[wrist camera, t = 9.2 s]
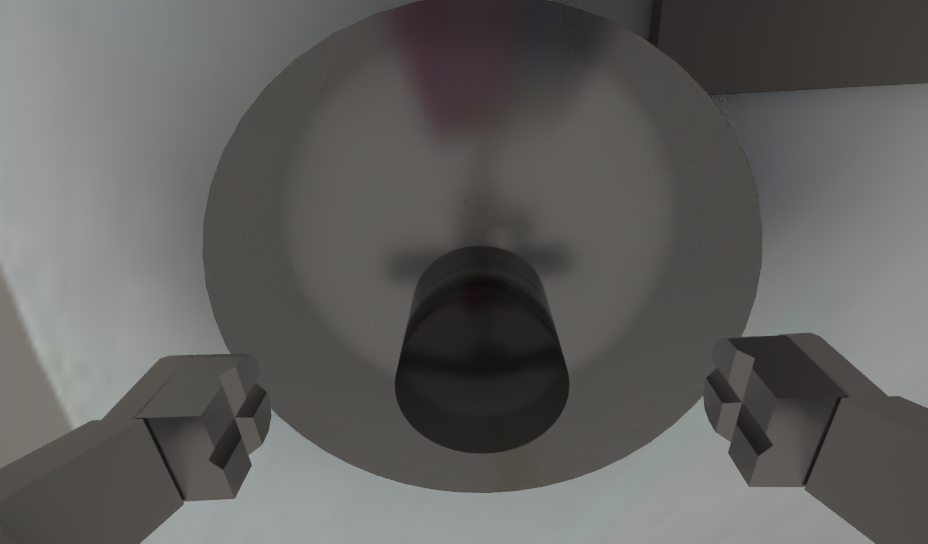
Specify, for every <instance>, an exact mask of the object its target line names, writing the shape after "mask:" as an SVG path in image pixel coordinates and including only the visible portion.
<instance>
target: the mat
mask: <svg viewBox="0 0 928 544" xmlns="http://www.w3.org/2000/svg"><path fill="white" fill-rule="evenodd" d="M650 43H651V44H652V45H653V46H655V47H656V48H658V49H659V50H660V51H662V52H663V53H664V54H666V55H667V56H669V57H670V58H671V59H673V60H674V61H675V62H677V63H678V64H679V65H680V66H681V67H682V68H683V69H684V70H685V71H686V72H687V73H688V74H689V75H690V76H691V77H692V78H693V79H694V80H695V81H696V82H697V83H698V84H699V85H700V86H701V87H702V88H703V89H704V90H705V91H706V92H707V93H708V95H715V94H734V93H752V92H770V91H788V90H807V89H825V88H843V87H861V86H880V85H898V84H916V83H928V0H655V2H654V11H653V21H652V30H651V39H650Z"/></svg>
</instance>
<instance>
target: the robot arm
mask: <svg viewBox="0 0 928 544" xmlns="http://www.w3.org/2000/svg"><path fill="white" fill-rule="evenodd" d="M711 359H712V360H713V362H714V363H715V365H716V366H717V368H716V369H715V370H714V371H713V372H712V373H711V374H710V375H709V376H707V377H706V380H705V386H704V391H703V397H704V406H705V411H706V413H707V416H708V419H709V421H710V423H711V425H712V427H713V428H714V430H715V432H716V433H718V434H720V435H721V436H723V437H724V438H726V439H727V440H729V441H730V442H731V444H730V448H729V452H728V453H729V455H730V457H731V458H732V460H733V462H734V463H735V465H736V466H737V468H738V470H739V471H740V473H741V475H742V476H743V478H744V479H745V481H746V483H747V484H748V486H749V487H805V490H806V491H807V492H808V493H810V494H811V495H812V496H814V497H815V498H816V499H818V500H819V501H820V502H822V503H823V504H824V505H826V506H827V507H828V508H830V509H831V510H832V511H833V512H835V513H836V514H837V515H839V516H840V517H841V518H843V519H844V520H845V521H847V522H848V523H849V524H851V525H852V526H853V527H855V528H856V529H857V530H858V531H860V532H861V533H862V534H864V535H865V536H866V537H868V538H869V539H870V540H872V541H873V542H874V543H876V544H928V408H925V407H923V406H921V405H918V404H916V403H914V402H911V401H909V400H907V399H904V398H902V397H900V396H889V397H888V396H887V395H886V394H885V393H884V392H883V391H882V390H880V389H879V388H878V387H877V386H876V385H875V384H874V383H872V382H871V381H870V380H869V379H868V378H867V377H866V376H865V375H863V374H862V373H861V372H860V371H859V370H858V369H857V368H855V367H854V366H853V365H852V364H851V363H850V362H849V361H847V360H846V359H845V358H844V357H843V356H842V355H841V354H839V353H838V352H837V351H836V350H835V349H834V348H833V347H831V346H830V345H829V344H828V343H827V342H826V341H825V340H823V339H822V338H821V337H820V336H818V335H815V334H812V333H797V334H781V335H778V336H757V337H733V338H718V340H717V341H716V343H715V344H714V346H713V350H712V354H711ZM260 374H261V371H260V368H259V366H258V363H257V360H256V358H255V357H253V356H251V355H250V354H213V355H173V356H167V357H163V358H160V359H159V360H158V361H157V362H156V363H155V364H154V365H153V366H152V367H151V369H150V370H149V371H148V372H147V373H146V374H145V375H144V376H143V377H142V378H141V379H140V380H139V381H138V382H137V383H136V384H135V385H134V386H133V387H132V388H131V389H130V390H129V392H128V393H127V394H126V395H125V396H124V397H123V398H122V399H121V400H120V401H119V402H118V403H117V404H116V405H115V406H114V407H113V408H112V409H111V410H110V411H109V412H108V414H107V415H106V416H105V417H104V418H103V419H102V420H94V421H90V422H88V423H86V424H84V425H82V426H80V427H79V428H77V429H75V430H73V431H71V432H69V433H67V434H65V435H64V436H62V437H60V438H58V439H56V440H54V441H52V442H50V443H48V444H46V445H44V446H42V447H41V448H39V449H37V450H35V451H33V452H31V453H29V454H27V455H25V456H23V457H22V458H20V459H18V460H16V461H14V462H12V463H10V464H8V465H7V466H4V467H3V468H1V469H0V544H140V543H141V542H142V541H143V540H144V539H145V538H146V537H148V536H149V535H150V534H151V533H152V532H153V531H154V530H155V529H157V528H158V527H159V526H160V525H161V524H162V523H163V522H164V521H166V520H167V519H168V518H169V517H170V516H171V515H172V514H173V513H175V512H176V511H177V510H178V509H179V508H180V507H181V506H182V505H184V503H183V501H200V500H219V499H235V497H236V495H237V493H238V491H239V489H240V487H241V485H242V483H243V481H244V479H245V477H246V475H247V473H248V472H249V470H250V468H251V466H252V465H251V462H250V459H249V456H248V455H249V454H250V453H252V452H253V451H254V450H256V449H257V448H258V447H260V446H261V445H262V444H263V442H264V439H265V437H266V435H267V433H268V430H269V425H270V420H271V405H270V400H269V396H268V393H267V391H265V390H264V389H263V388H262V387H261V386H259V385H258V384H257V383H256V381H257V379H258V377H259V376H260Z"/></svg>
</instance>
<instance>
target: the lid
mask: <svg viewBox="0 0 928 544" xmlns="http://www.w3.org/2000/svg"><path fill="white" fill-rule="evenodd" d="M761 259H762V224H761V217H760V209H759V202H758V195H757V191H756V188H755V185H754V181H753V178H752V174H751V171H750V168H749V164H748V161H747V159H746V157H745V155H744V152H743V150H742V148H741V146H740V144H739V142H738V140H737V138H736V136H735V134H734V132H733V130H732V128H731V126H730V124H729V123H728V122H727V120H726V119H725V117H724V116H723V114H722V113H721V112H720V110H719V109H718V107H717V106H716V105H715V103H714V102H713V100H712V99H711V98H710V96H709V95H708V93H707V92H706V91H705V90H704V89H703V88H702V87H701V86H700V85H699V84H698V83H697V82H696V81H695V80H694V79H693V78H692V77H691V76H690V75H689V74H688V73H687V72H686V71H685V70H684V69H683V68H682V67H681V66H680V65H679V64H678V63H677V62H675V61H674V60H673V59H671V58H670V57H669V56H667V55H666V54H664V53H663V52H662V51H660V50H659V49H658V48H656V47H655V46H653V45H652V44H651V43H649V42H648V41H647V40H645V39H644V38H642V37H640V36H638V35H636V34H634V33H632V32H631V31H629V30H627V29H625V28H623V27H621V26H619V25H617V24H615V23H613V22H611V21H609V20H607V19H605V18H603V17H600V16H597V15H594V14H591V13H588V12H585V11H582V10H579V9H576V8H573V7H570V6H567V5H564V4H561V3H556V2H550V1H544V0H424V1H418V2H414V3H411V4H407V5H404V6H401V7H397V8H394V9H391V10H387V11H384V12H381V13H377V14H374V15H372V16H370V17H368V18H365V19H363V20H361V21H359V22H357V23H355V24H353V25H351V26H349V27H346V28H344V29H342V30H340V31H338V32H336V33H334V34H332V35H331V36H329V37H328V38H326V39H325V40H323V41H322V42H320V43H319V44H317V45H316V46H314V47H313V48H311V49H310V50H308V51H307V52H305V53H304V54H303V55H301V56H300V57H298V58H297V59H296V60H295V61H293V62H292V63H291V64H290V65H289V66H288V67H287V68H286V69H285V70H284V71H283V72H282V73H281V74H280V75H278V76H277V77H276V78H275V79H274V80H273V81H272V82H271V83H270V84H269V85H268V86H267V87H266V88H265V89H264V90H263V92H262V93H261V94H260V96H259V97H258V98H257V99H256V101H255V102H254V103H253V104H252V106H251V107H250V108H249V110H248V111H247V112H246V113H245V115H244V116H243V117H242V119H241V120H240V122H239V124H238V126H237V128H236V129H235V131H234V133H233V135H232V137H231V139H230V140H229V142H228V144H227V146H226V148H225V149H224V151H223V154H222V156H221V159H220V162H219V165H218V167H217V170H216V173H215V176H214V178H213V181H212V184H211V187H210V192H209V198H208V203H207V208H206V213H205V218H204V236H203V260H204V269H205V278H206V287H207V291H208V294H209V298H210V302H211V306H212V310H213V314H214V317H215V320H216V322H217V325H218V327H219V329H220V332H221V334H222V337H223V339H224V341H225V344H226V346H227V348H228V350H229V351H230V353H231V354H250V355H251V356H253V357H255V358H256V360H257V363H258V366H259V368H260V371H261V374H260V376H259V377H258V379H257V381H256V383H257V384H258V385H259V386H261V387H262V388H263V389H264V390H265V391H267V393H268V396H269V400H270V405H271V408H272V409H273V410H274V411H275V413H276V414H277V415H278V416H279V417H280V418H282V419H283V420H284V421H285V422H286V423H288V424H289V425H290V426H291V427H292V428H294V429H295V430H296V431H297V432H298V433H300V434H301V435H302V436H304V437H305V438H307V439H308V440H310V441H311V442H313V443H314V444H316V445H317V446H319V447H320V448H322V449H323V450H325V451H326V452H328V453H330V454H332V455H334V456H336V457H338V458H339V459H341V460H343V461H345V462H347V463H349V464H351V465H353V466H356V467H358V468H360V469H363V470H365V471H368V472H370V473H373V474H375V475H378V476H381V477H384V478H388V479H391V480H394V481H398V482H401V483H404V484H409V485H414V486H419V487H424V488H429V489H435V490H444V491H453V492H473V493H492V492H507V491H518V490H524V489H531V488H537V487H543V486H547V485H551V484H555V483H559V482H563V481H567V480H571V479H574V478H577V477H579V476H582V475H585V474H588V473H590V472H593V471H596V470H599V469H601V468H603V467H605V466H607V465H609V464H611V463H614V462H616V461H618V460H620V459H622V458H624V457H626V456H628V455H629V454H631V453H633V452H634V451H636V450H638V449H639V448H641V447H643V446H644V445H646V444H648V443H649V442H651V441H652V440H653V439H655V438H656V437H657V436H659V435H660V434H661V433H663V432H664V431H665V430H667V429H668V428H669V427H671V426H672V425H673V424H674V423H676V422H677V421H678V420H679V419H680V418H681V417H682V416H683V415H684V414H685V413H686V412H687V411H688V410H689V409H690V408H692V407H693V406H694V405H695V404H696V403H697V401H698V400H699V399H700V398H701V397H702V395H703V391H704V386H705V380H706V377H707V376H709V375H710V374H711V373H712V372H713V371H714V370H715V369H716V368H717V366H716V365H715V363H714V362H713V360H712V359H711V354H712V350H713V346H714V344H715V343H716V341H717V340H718V338H733V337H741V335H742V333H743V331H744V329H745V327H746V324H747V321H748V318H749V315H750V312H751V309H752V306H753V303H754V300H755V297H756V291H757V286H758V280H759V274H760V269H761Z"/></svg>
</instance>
